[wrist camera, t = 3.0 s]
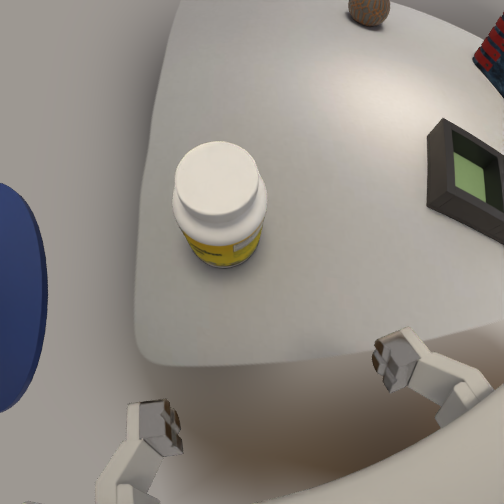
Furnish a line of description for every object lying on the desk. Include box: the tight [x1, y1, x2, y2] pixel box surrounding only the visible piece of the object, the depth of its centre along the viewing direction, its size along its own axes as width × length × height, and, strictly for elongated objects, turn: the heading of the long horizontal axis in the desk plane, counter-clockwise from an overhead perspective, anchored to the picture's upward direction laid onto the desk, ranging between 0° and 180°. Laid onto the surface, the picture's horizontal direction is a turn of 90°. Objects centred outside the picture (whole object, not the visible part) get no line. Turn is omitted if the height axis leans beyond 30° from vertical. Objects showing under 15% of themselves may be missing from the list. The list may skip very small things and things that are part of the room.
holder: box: [427, 118, 504, 244], centre depth 28 cm, size 20×10×4 cm, turn 73°
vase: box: [348, 0, 390, 26], centre depth 33 cm, size 7×7×9 cm
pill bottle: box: [172, 141, 268, 268], centre depth 21 cm, size 6×6×11 cm
